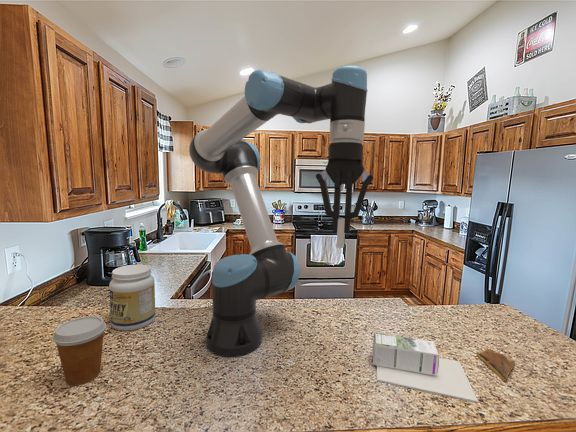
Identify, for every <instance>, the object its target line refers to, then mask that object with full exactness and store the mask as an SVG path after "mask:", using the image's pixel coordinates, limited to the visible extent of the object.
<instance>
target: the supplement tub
mask: <svg viewBox="0 0 576 432" xmlns="http://www.w3.org/2000/svg"><path fill="white" fill-rule="evenodd" d="M151 267H152V266H150V265H147V264H129V265H122V266H119V267H117V268H115V269H113V270H112V272H111V274H112V275H111V278H112V279H111V280H110V282H109V283H108V285H109V286H108V290H109V291H108V292H109V310H110V311H109V312H110V314H109V315H110V325H111V326H112V328H113V329H115V330H119V331H126V332H127V331H134V330H139V329H142V328H145V327H147V326H149V325H150V324H151V323H153V321H154V320H155V318H156V297H155V296H156V293H155V292H156V289H155V287H156V286H155V278H154V276H153V275H152V268H151Z"/></svg>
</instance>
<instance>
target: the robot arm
mask: <svg viewBox="0 0 576 432" xmlns="http://www.w3.org/2000/svg"><path fill="white" fill-rule="evenodd" d="M247 79H248V80H246V82H245V86H244V96H243V97H242V98H241V99H239V100H238V101H237V102H236V103H235V104H234V105H233V106H232V107H231V108H230V109H228V110H227V111H226V112H225V113H224V114H223V115H221V117H220V118H218V119H217V120H216V121H215V122H214V123H213V124H212V125H210V126H209V127H208V128H207V129H202V130H200V131H198V132H196V134H195V135H194V136H193V137H192V139H191V141H190V143H189V146H188V147H189V149H188V152H189V156H190V159H191V161H192V162H193V164H194V165H195V166H196V167H197V168H198V169H200V170H201V171H203V172H205V173H209V174H221V175H223V179H224V181H225V183H226V184H227V185H230V186H231V189H232V192H233V195H234V198H235V203H236V205H237V207H238V211H239V214H240V218H241V221H242V224H243V227H244V229H245V234H246V236H247V239H248V242H249V246H250V249H251V250H250V252H249V254H246V253H241V254H232V255H228V256H225V257H222V258H221V259H218V261H217V262H216V263H215V264H214V265H213V269H212V277H211V283H212V317H211V321H210V323H209V326H208V330H207V333H206V336H205V337H206V339H205V341H206V342H205V343H206V348H207V349H208V351H210V352H211V353H213V354H215V355H216V356H221V357H229V358H230V357H231V358H232V357H240V356H244V355H247V354H250V353H252V352H253V351H255V350H257V349H258V348H259V346H260V345H261V344H262V341H263V339H262V338H263V337H262V336H263V335H262V334H263V333H262V328H261V325H260V322H259V319H258V315H257V311H256V310H257V309H256V308H257V301H258V300H262V299H265V298H269V297H272V296H275V295H278V294H284V293H285V292H287V291H291V290H292V289H294V287H296V285H297V284H298V282H299V278H300V277H301V276H300V275H301V266H300V262H299V259H298V257H297V256H296V255H295V254H293V252H291V251H287V249H286V246H285V243H282V242H281V241H278V237H277V235H276V233H275V229H274V228H273V224H272V221H271V218H270V215H269V212H268V210H267V206H266V204H265V201H264V198H263V195H262V193H261V190H260V187H259V184H258V182H257V178H256V177H257V176H258V174H259V170H260V167H261V162H260V161H261V155H260V152H259V150H258V149H257V147H256V145H254V144H253V143H251V142H249V141H246V140H243V139H245V138H246V137H247V136H249V135H250V134H251V133H253V132H255V131H256V130H257V129H259V128H260V127H262V126H263V125H264V124H266V123H267V122H268V121H270V120H271V119H273V118H274V117H276V116H277V115H282V116H287V117H292V118H293V119H294V120H295V121H296V122H297V123H299V124H313V123H317V122H322V121H326V120H329V121H330V122H329V124H330V125H329V136H328V137H329V141H330V144H329V145H328V157H327V158H328V159H327V164H326V166H325V170H323V171H322V172H320V173H317V174H316V175H315V178H316V180H317V182H318V183H319V187H320V188H319V189H320V191H321V197H322V202H323V208H324V213H325V215H326V216H328V217H331V218H332V232H333V233H336V248H338V249H339V248H340V249H343V248H344V246H345V239H346V238H345V236H346V234H349V233H350V232H351V231H350V230H351V220H352V219H355V218H357V217H359V215H360V212H361V210H362V209H361V208H362V205H363V204H364V203H363V202H364V200H365V196H366V193H367V191H368V186H369V185H370V183H372V181H373V180H374V176H373V175H372V174H370V173H368V172H367V171H366V170H365V167H364V165H363V158H364V145H363V143H362V142H364V140H365V127H366V124H365V122H366V121H365V120H366V119H365V118H366V105H367V96H368V95H367V94H368V73H367V71H366V70H365V69H364V68H363V67H361V66H358V65H343V66H340V67H337V68H336V69H335V70H333V72H332V75H331V82H330V83H328V84H325V85H322V86H317V87H315V86H311V85H308V84H306V83H302V82H300V81H297V80H294V79H291V78H288V77H285V76H282V75H280V74H277V73H275V72H273V71H267V70H264V69H263V70H262V69H257V70H254V71H251V73H250V74H249V76H248V78H247ZM361 176H362V177H361ZM328 177H329V178H330V180H331V182H333V185H334V187H333V188H334V197H333V209H332V206H331V200H330V193H329V188H328V184H327V180H328ZM360 177H361V181H362V182H363V183H362V185H361V186H360V187H361V188H360V191H359V194H358V197H357V200H356V203H355V206H354V209H353V211H352V200H353V187H354V184H355V183H356V182H357V181H358V180H359V178H360ZM342 185H345V200H344V201H345V205H344V206H345V207H344V218H343V217H340V215H341V214H340V212H341V197H342V195H341V194H342V193H341V192H342Z"/></svg>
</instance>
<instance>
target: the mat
mask: <svg viewBox="0 0 576 432" xmlns="http://www.w3.org/2000/svg"><path fill="white" fill-rule="evenodd" d="M376 381H377V382H379V383H384V384H389V385H393V386H397V387H402V388H407V389H411V390H416V391H420V392H425V393H429V394H430V393H431V394H434V395H440V396H444V397H449V398H453V399H457V400H463V401H466V402H471V403H476V404H478V403H479V400H478V398H477V396H476V394H475V391H474V389H473V388H472V386H471V383H470V381H469V378H468V377H467V374H466V373H465V370H464V368H463V366H462V364H461V361H460V360H454V359H450V358H449V359H448V358H443V357H439V369H438V374H437V376H434V375H428V374H423V373H417V372H412V371H406V370H400V369H394V368H389V367H383V366H377V365H376Z"/></svg>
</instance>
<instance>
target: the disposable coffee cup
mask: <svg viewBox="0 0 576 432" xmlns="http://www.w3.org/2000/svg"><path fill="white" fill-rule="evenodd" d="M106 329H107V324H106V322H105V321H104V319H103V318H102V317H100V316H95V315H91V316H82V317H78V318H74V319H70V320H68V321H66V322H64V323H62V324H59V326H58V327H56V329H55V332H54V334H53V335H52V341H53V342H54V343H55V344H56V348H57V352H58V357H59V359H60V363H61V369H62V372H63V376H64V379H65V380H64V381H65V384H67V385H68V386H81V385H84V384H87V383H89V382H91V381H93V380H94V379H96V378H98V376H99V375H100V373H101V368H102V367H101V365H102V355H103V346H104V334H105V330H106Z"/></svg>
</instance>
